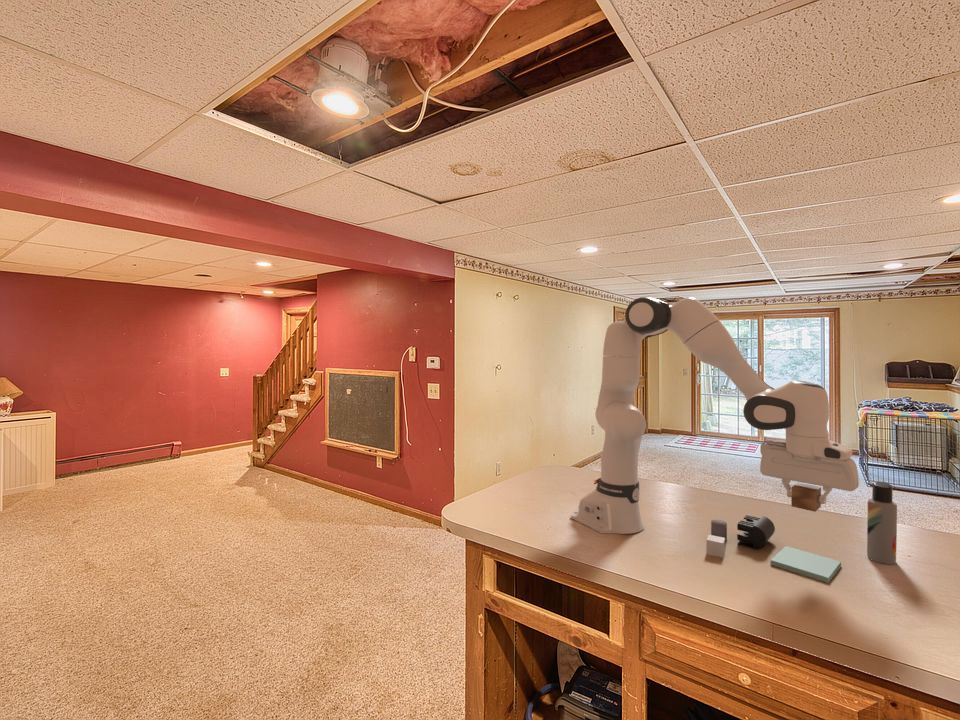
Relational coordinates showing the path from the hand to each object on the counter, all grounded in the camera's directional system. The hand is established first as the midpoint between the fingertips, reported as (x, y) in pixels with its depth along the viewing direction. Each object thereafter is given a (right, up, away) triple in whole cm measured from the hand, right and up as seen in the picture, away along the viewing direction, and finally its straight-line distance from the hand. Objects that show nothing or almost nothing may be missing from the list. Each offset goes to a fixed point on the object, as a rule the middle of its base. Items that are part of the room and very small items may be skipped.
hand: (806, 499), depth 115 cm
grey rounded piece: (-13, -17, +17) cm, 27 cm away
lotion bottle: (+22, -17, +3) cm, 28 cm away
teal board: (0, -17, +1) cm, 17 cm away
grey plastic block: (-19, -17, +8) cm, 26 cm away
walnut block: (0, -2, 0) cm, 2 cm away
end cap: (-4, -17, +14) cm, 22 cm away
